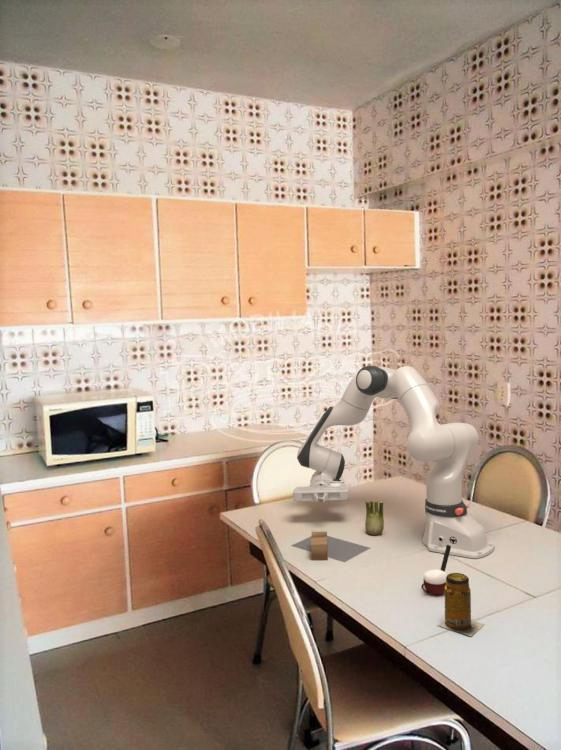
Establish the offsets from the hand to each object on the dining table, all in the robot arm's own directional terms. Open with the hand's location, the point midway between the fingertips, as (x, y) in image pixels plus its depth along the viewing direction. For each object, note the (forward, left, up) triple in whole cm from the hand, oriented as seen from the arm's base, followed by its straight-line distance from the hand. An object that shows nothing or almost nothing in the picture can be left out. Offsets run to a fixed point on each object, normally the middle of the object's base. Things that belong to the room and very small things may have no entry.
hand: (320, 500), depth 211 cm
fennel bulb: (-17, -8, -11) cm, 22 cm away
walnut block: (-9, +11, -8) cm, 16 cm away
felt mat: (-12, +10, -11) cm, 19 cm away
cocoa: (-54, +17, -11) cm, 58 cm away
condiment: (-67, +29, -11) cm, 74 cm away
